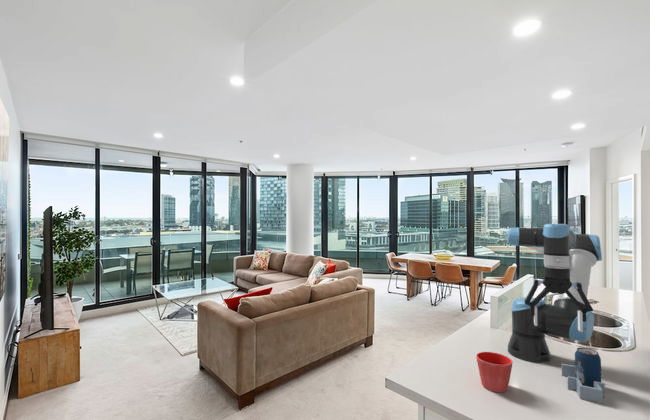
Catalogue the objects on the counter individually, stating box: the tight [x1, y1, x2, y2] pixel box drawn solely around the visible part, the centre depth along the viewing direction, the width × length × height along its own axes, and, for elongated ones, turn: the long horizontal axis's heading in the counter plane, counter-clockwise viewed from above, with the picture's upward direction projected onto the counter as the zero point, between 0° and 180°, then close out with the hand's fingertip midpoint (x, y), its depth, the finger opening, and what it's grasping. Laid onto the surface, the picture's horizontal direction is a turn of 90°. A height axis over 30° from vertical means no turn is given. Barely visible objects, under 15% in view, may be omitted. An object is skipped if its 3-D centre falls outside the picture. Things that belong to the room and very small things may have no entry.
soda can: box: [574, 347, 602, 388], centre depth 109 cm, size 7×7×12 cm
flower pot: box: [475, 351, 514, 393], centre depth 109 cm, size 11×11×10 cm
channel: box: [560, 363, 605, 404], centre depth 107 cm, size 10×16×4 cm, turn 152°
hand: (557, 327), depth 113 cm, fingers open, 12 cm apart
